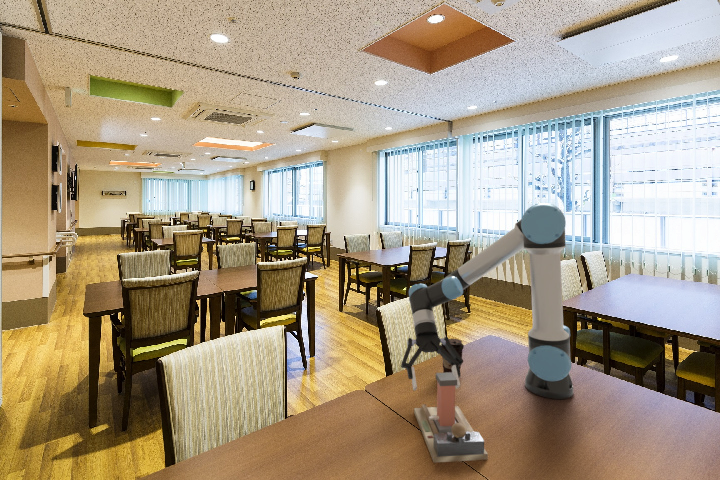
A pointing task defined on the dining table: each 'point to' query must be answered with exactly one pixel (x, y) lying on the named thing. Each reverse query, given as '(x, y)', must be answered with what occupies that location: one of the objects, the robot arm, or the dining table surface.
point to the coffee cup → (458, 347)
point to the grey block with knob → (458, 444)
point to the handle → (445, 402)
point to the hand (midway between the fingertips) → (436, 388)
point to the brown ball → (458, 430)
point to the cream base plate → (430, 429)
